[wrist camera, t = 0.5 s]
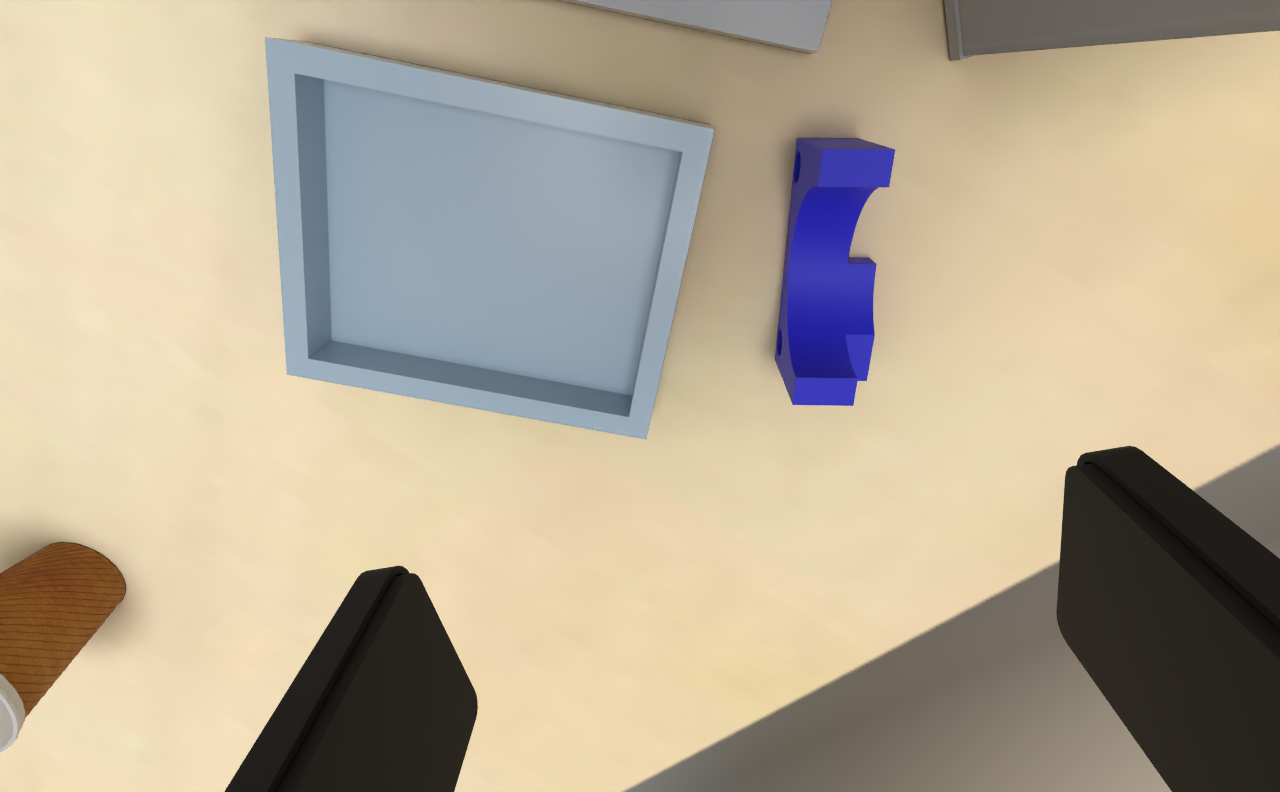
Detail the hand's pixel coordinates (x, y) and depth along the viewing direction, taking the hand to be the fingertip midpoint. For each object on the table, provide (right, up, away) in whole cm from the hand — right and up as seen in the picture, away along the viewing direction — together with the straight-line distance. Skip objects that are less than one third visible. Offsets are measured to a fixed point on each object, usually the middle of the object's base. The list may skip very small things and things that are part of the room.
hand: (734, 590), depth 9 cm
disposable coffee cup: (-42, -10, +38) cm, 58 cm away
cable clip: (+9, +11, +26) cm, 29 cm away
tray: (-9, +11, +26) cm, 30 cm away
